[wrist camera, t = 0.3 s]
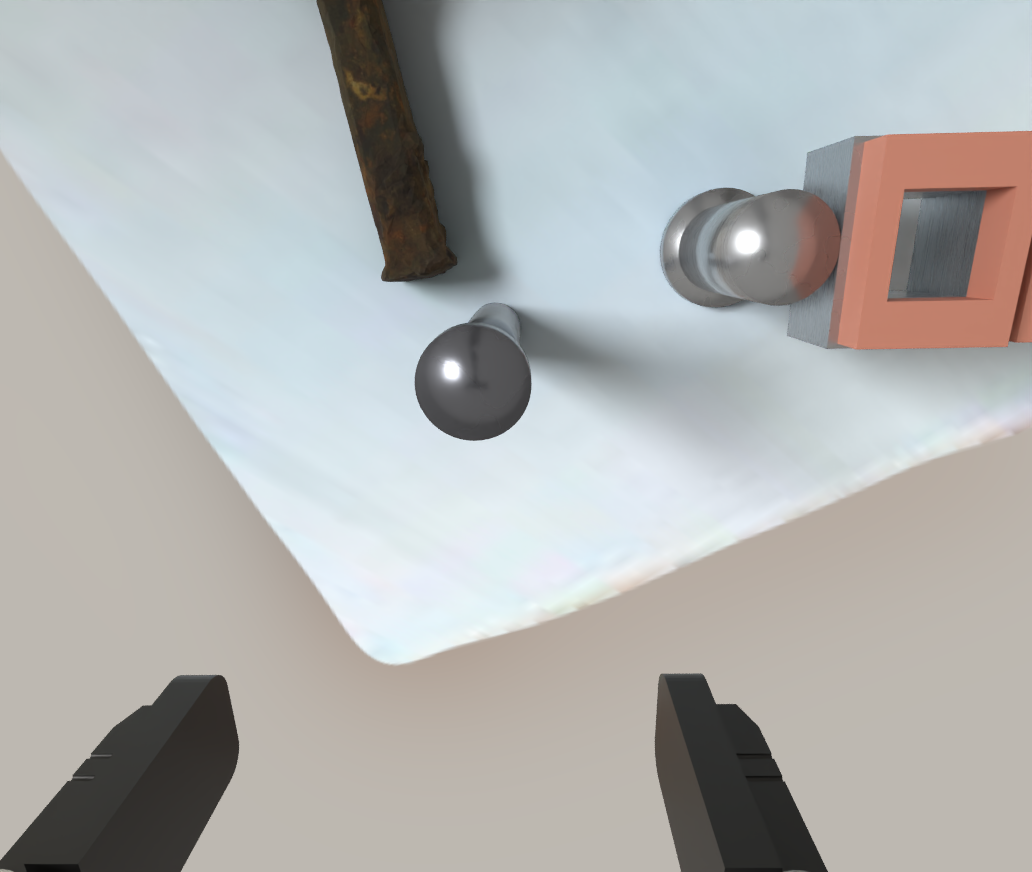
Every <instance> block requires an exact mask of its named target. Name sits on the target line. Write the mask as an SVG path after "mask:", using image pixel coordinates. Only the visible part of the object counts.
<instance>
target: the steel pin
mask: <svg viewBox="0 0 1032 872" xmlns="http://www.w3.org/2000/svg"><path fill="white" fill-rule="evenodd" d="M520 331H521V326H520V321H519V318H518V316H517V314H516V313H515V312H514V311H513V310H512V309H511V308H510V307H508V306H507V305H505V304H501V303H490V304H487V305H484V306H483V307H481V308H480V309H479V310H478V311H477V312H476V313H475V314H474V316H473V317H472V318H471V319H470V320H469V322H468V323H464V324H460V325H456V326H454V327H451V328H449V329H447V330H446V331H444V332H443V333H441V334H440V335H439V336H438V337H437V338H435V339H434V340H433V341H432V342H431V343H430V344H429V345H428V347H427V348H426V349H425V350H424V352H423V354H422V355H421V357H420V360H419V362H418V365H417V368H416V373H415V391H416V396H417V399H418V402H419V404H420V407H421V409H422V410H423V412H424V414H425V415H426V417H427V418H428V419H429V420H430V421H431V422H432V423H433V424H434V425H435V426H436V427H437V428H438V429H440V430H441V431H443V432H445V433H446V434H448V435H451V436H453V437H456V438H459V439H463V440H473V441H477V440H485V439H490V438H493V437H496V436H498V435H500V434H502V433H504V432H506V431H507V430H509V429H510V428H511V427H512V426H513V425H515V424H516V422H517V421H518V420H519V419H520V418H521V416H522V415H523V413H524V411H525V409H526V407H527V405H528V402H529V399H530V394H531V370H530V366H529V362H528V359H527V357H526V355H525V353H524V351H523V349H522V348H521V346H520V345H519V343H520Z"/></svg>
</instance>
